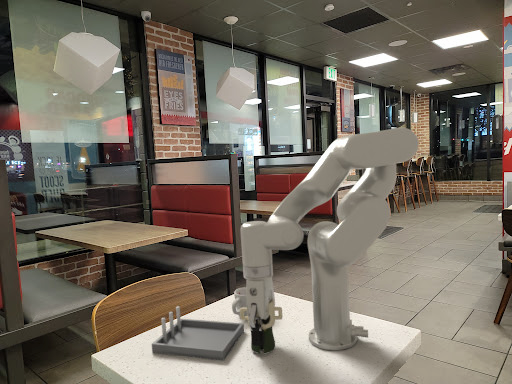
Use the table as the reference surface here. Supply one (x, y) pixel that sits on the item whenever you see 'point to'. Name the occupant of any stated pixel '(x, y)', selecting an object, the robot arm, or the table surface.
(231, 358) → the table surface
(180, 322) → the dish rack
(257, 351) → the character mug
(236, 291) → the cup
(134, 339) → the table surface
